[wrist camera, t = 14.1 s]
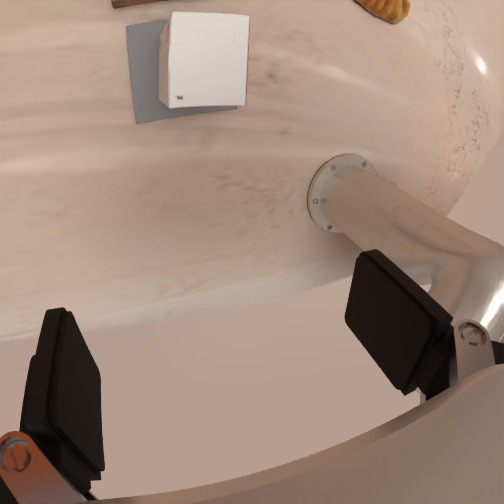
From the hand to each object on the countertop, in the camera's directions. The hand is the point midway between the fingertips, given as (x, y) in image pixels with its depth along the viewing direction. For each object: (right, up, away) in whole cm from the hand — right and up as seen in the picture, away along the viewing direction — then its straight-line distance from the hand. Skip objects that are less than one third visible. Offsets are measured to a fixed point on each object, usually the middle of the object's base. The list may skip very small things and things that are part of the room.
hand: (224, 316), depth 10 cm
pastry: (+19, +38, +24) cm, 49 cm away
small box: (-7, +23, +22) cm, 33 cm away
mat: (-7, +23, +22) cm, 33 cm away
